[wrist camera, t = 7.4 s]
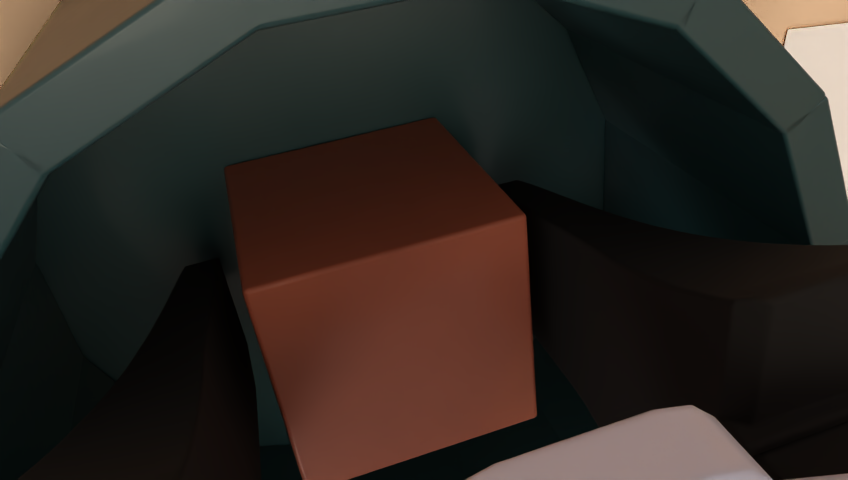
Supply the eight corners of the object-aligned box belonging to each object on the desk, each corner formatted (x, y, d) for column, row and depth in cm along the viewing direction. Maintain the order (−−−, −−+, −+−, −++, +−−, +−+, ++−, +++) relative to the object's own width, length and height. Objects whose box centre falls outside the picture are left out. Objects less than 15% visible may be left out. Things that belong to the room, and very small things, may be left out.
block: (275, 338, 15) (307, 495, 12) (222, 165, 13) (241, 292, 9) (456, 286, 16) (539, 418, 12) (435, 115, 14) (528, 213, 10)
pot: (138, 519, 17) (122, 824, 12) (-160, -43, 10) (-514, 85, 5) (616, 364, 20) (780, 560, 14) (630, -172, 13) (955, -177, 7)
